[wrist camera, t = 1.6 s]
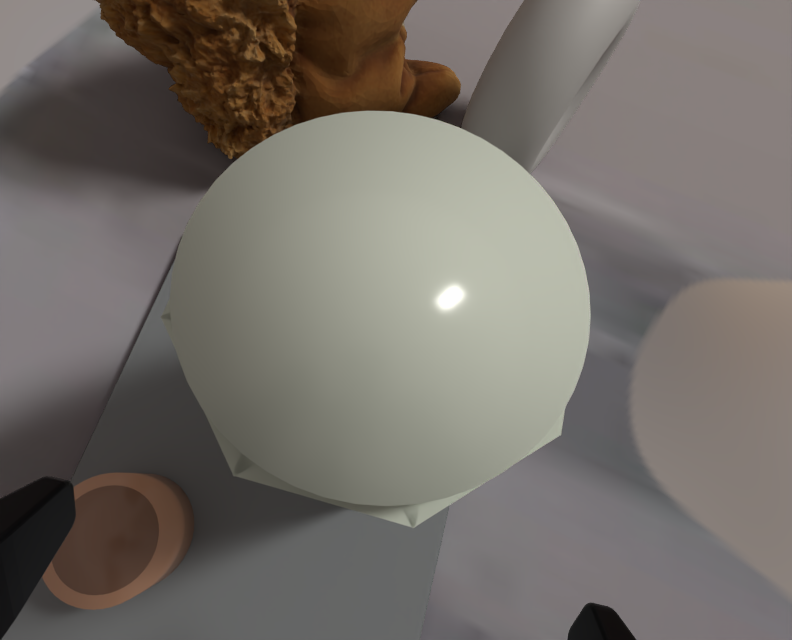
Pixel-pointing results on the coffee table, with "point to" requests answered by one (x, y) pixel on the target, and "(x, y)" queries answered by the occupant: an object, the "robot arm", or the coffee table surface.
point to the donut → (544, 73)
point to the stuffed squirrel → (281, 61)
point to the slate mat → (238, 535)
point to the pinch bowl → (121, 539)
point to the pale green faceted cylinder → (379, 313)
